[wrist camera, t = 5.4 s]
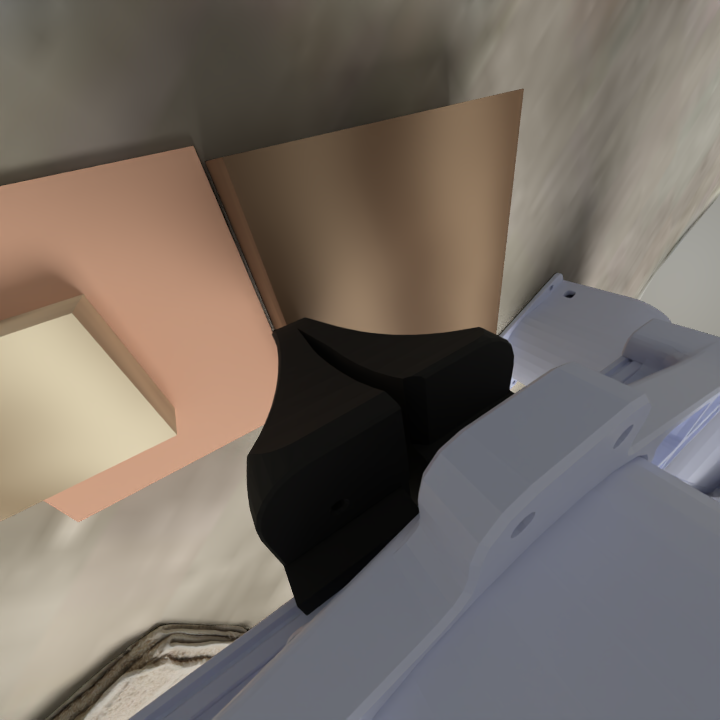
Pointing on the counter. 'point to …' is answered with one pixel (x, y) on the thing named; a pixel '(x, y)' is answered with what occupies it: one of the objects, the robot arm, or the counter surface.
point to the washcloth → (146, 671)
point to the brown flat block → (381, 219)
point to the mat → (146, 299)
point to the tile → (70, 403)
